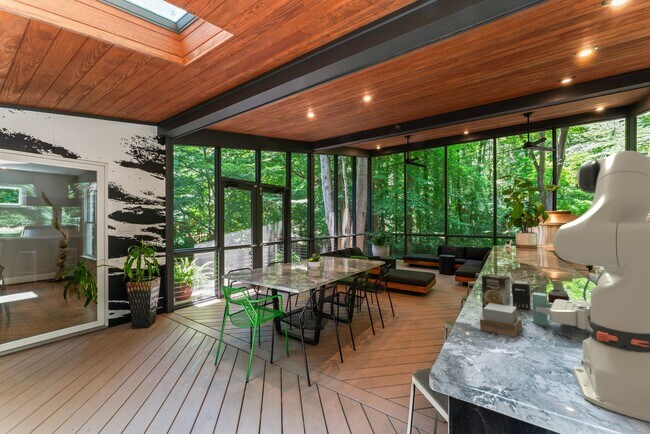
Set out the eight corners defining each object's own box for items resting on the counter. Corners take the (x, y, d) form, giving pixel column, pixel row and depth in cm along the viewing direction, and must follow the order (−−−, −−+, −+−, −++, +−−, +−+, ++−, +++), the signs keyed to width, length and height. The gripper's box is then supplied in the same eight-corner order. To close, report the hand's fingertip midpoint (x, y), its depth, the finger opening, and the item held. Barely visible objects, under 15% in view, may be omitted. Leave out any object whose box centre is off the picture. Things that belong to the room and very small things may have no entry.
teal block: (546, 325, 110) (545, 295, 111) (533, 323, 113) (532, 294, 113) (547, 322, 113) (546, 293, 113) (535, 320, 116) (534, 292, 116)
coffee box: (481, 313, 126) (480, 275, 126) (487, 310, 130) (486, 273, 130) (506, 318, 119) (504, 278, 119) (511, 314, 123) (510, 276, 124)
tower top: (512, 324, 103) (511, 313, 103) (483, 319, 109) (483, 308, 109) (517, 317, 109) (516, 306, 109) (489, 313, 115) (489, 302, 115)
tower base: (515, 338, 101) (515, 326, 101) (480, 330, 109) (479, 319, 109) (521, 328, 109) (521, 317, 109) (488, 322, 117) (488, 312, 117)
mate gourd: (570, 312, 124) (569, 276, 124) (547, 310, 128) (546, 275, 129) (567, 308, 131) (566, 273, 131) (545, 305, 135) (544, 272, 135)
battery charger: (511, 307, 133) (510, 282, 133) (513, 305, 136) (512, 280, 136) (530, 310, 128) (529, 284, 128) (531, 308, 131) (530, 282, 131)
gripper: (585, 298, 112) (540, 293, 122) (583, 311, 97) (532, 304, 107) (586, 315, 112) (541, 308, 121) (584, 331, 97) (533, 321, 106)
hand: (537, 306), depth 114 cm, fingers open, 5 cm apart
